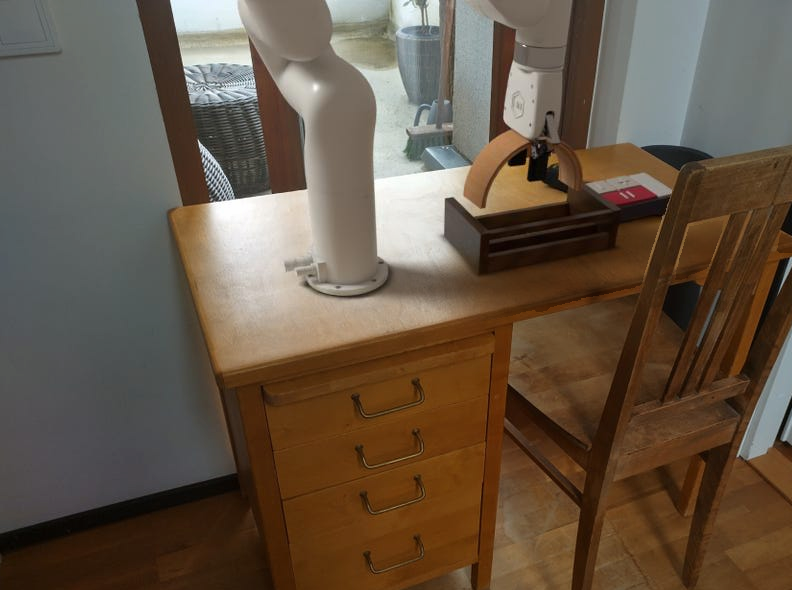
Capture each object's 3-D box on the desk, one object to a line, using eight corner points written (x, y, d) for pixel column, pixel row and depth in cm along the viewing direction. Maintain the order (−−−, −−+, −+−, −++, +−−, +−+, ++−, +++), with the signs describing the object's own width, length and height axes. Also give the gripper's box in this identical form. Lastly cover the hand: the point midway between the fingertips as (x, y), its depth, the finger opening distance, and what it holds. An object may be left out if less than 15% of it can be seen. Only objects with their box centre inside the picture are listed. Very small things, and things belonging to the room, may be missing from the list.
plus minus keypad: (578, 182, 134) (645, 168, 138) (576, 204, 136) (642, 189, 141) (610, 206, 126) (680, 190, 130) (607, 228, 128) (676, 212, 133)
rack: (478, 275, 112) (481, 234, 108) (443, 236, 122) (444, 198, 118) (615, 247, 121) (622, 209, 117) (571, 213, 131) (576, 177, 127)
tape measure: (537, 186, 141) (539, 167, 139) (558, 176, 145) (560, 158, 143) (565, 196, 137) (567, 178, 135) (586, 186, 141) (588, 168, 139)
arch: (582, 190, 120) (592, 131, 114) (480, 209, 112) (485, 146, 106) (562, 178, 124) (571, 120, 118) (462, 195, 116) (466, 134, 110)
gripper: (491, 42, 110) (482, 156, 121) (546, 72, 98) (531, 196, 108) (533, 40, 113) (521, 152, 124) (592, 69, 100) (573, 190, 111)
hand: (526, 171), depth 116 cm, fingers closed on arch, 5 cm apart
